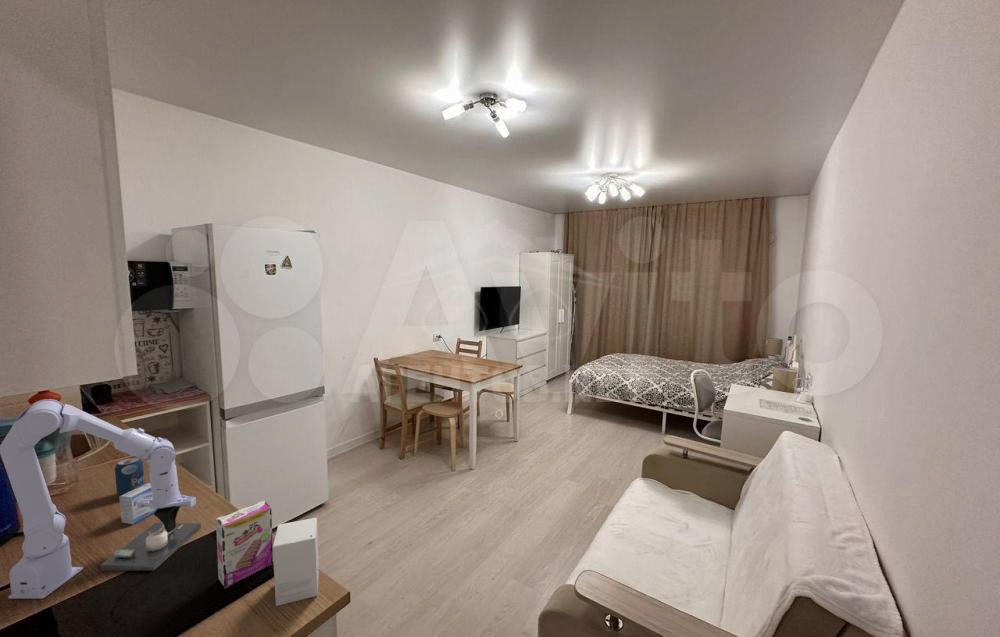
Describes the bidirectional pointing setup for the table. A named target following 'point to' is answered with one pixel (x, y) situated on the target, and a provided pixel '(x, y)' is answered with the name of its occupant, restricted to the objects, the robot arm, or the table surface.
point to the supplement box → (296, 561)
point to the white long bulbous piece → (157, 539)
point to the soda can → (129, 475)
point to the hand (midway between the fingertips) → (170, 530)
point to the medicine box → (135, 505)
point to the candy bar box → (244, 543)
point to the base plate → (143, 560)
